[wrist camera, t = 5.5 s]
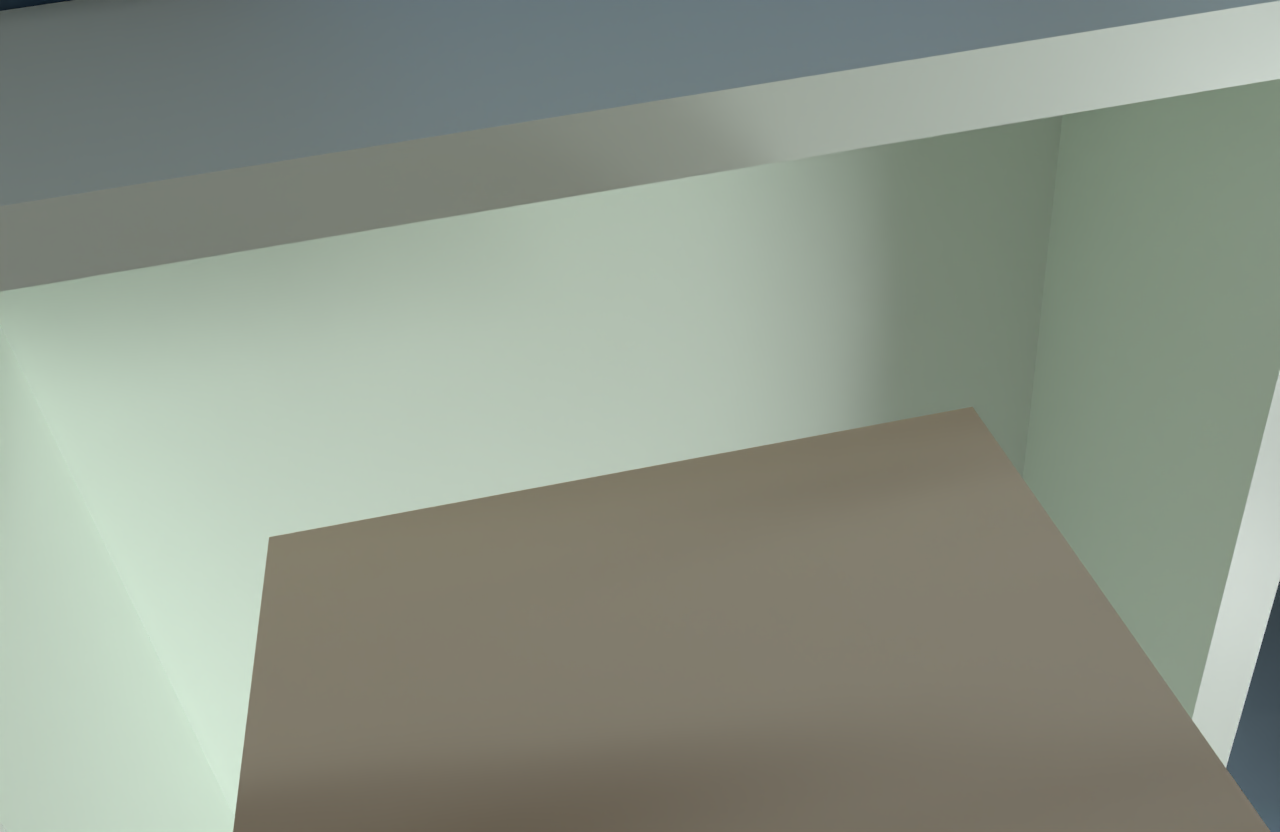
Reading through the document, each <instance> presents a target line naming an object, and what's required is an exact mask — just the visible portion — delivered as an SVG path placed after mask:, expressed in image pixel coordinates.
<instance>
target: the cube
mask: <svg viewBox="0 0 1280 832" xmlns="http://www.w3.org/2000/svg"><path fill="white" fill-rule="evenodd" d="M233 832H1270V830H1269V829H1268V827H1267V826H1266V825H1265V823H1264V822H1263V820H1262V819H1261V817H1260V816H1259V815H1258V813H1257V812H1256V810H1255V809H1254V807H1253V806H1252V805H1251V803H1250V802H1249V800H1248V799H1247V797H1246V796H1245V795H1244V793H1243V792H1242V790H1241V789H1240V787H1239V786H1238V785H1237V783H1236V782H1235V780H1234V779H1233V777H1232V776H1231V775H1230V773H1229V772H1228V770H1227V769H1226V767H1225V766H1224V765H1223V763H1222V762H1221V760H1220V759H1219V757H1218V756H1217V755H1216V753H1215V752H1214V750H1213V749H1212V748H1211V746H1210V745H1209V743H1208V742H1207V740H1206V739H1205V738H1204V736H1203V735H1202V733H1201V732H1200V730H1199V729H1198V728H1197V726H1196V725H1195V723H1194V722H1193V720H1192V719H1191V718H1190V716H1189V715H1188V713H1187V712H1186V710H1185V709H1184V708H1183V706H1182V705H1181V703H1180V702H1179V700H1178V699H1177V698H1176V696H1175V695H1174V693H1173V692H1172V690H1171V689H1170V688H1169V686H1168V685H1167V683H1166V682H1165V681H1164V679H1163V678H1162V676H1161V675H1160V673H1159V672H1158V671H1157V669H1156V668H1155V666H1154V665H1153V663H1152V662H1151V661H1150V659H1149V658H1148V656H1147V655H1146V653H1145V652H1144V651H1143V649H1142V648H1141V646H1140V645H1139V643H1138V642H1137V641H1136V639H1135V638H1134V636H1133V635H1132V633H1131V632H1130V631H1129V629H1128V628H1127V626H1126V625H1125V623H1124V622H1123V621H1122V619H1121V618H1120V616H1119V615H1118V614H1117V612H1116V611H1115V609H1114V608H1113V606H1112V605H1111V604H1110V602H1109V601H1108V599H1107V598H1106V596H1105V595H1104V594H1103V592H1102V591H1101V589H1100V588H1099V586H1098V585H1097V584H1096V582H1095V581H1094V579H1093V578H1092V576H1091V575H1090V574H1089V572H1088V571H1087V569H1086V568H1085V566H1084V565H1083V564H1082V562H1081V561H1080V559H1079V558H1078V556H1077V555H1076V554H1075V552H1074V551H1073V549H1072V548H1071V546H1070V545H1069V544H1068V542H1067V541H1066V539H1065V538H1064V537H1063V535H1062V534H1061V532H1060V531H1059V529H1058V528H1057V527H1056V525H1055V524H1054V522H1053V521H1052V519H1051V518H1050V517H1049V515H1048V514H1047V512H1046V511H1045V509H1044V508H1043V507H1042V505H1041V504H1040V502H1039V501H1038V499H1037V498H1036V497H1035V495H1034V494H1033V492H1032V491H1031V489H1030V488H1029V487H1028V485H1027V484H1026V482H1025V481H1024V479H1023V478H1022V477H1021V475H1020V474H1019V472H1018V471H1017V470H1016V468H1015V467H1014V465H1013V464H1012V462H1011V461H1010V460H1009V458H1008V457H1007V455H1006V454H1005V452H1004V451H1003V450H1002V448H1001V447H1000V445H999V444H998V442H997V441H996V440H995V438H994V437H993V435H992V434H991V432H990V431H989V430H988V428H987V427H986V425H985V424H984V422H983V421H982V420H981V418H980V417H979V415H978V414H977V412H976V411H975V410H974V408H973V407H968V408H963V409H957V410H952V411H947V412H941V413H936V414H930V415H925V416H920V417H914V418H909V419H903V420H898V421H893V422H887V423H882V424H876V425H871V426H866V427H860V428H855V429H849V430H844V431H839V432H833V433H828V434H823V435H817V436H812V437H806V438H801V439H796V440H790V441H785V442H779V443H774V444H769V445H763V446H758V447H752V448H747V449H742V450H736V451H731V452H726V453H720V454H715V455H709V456H704V457H699V458H693V459H688V460H682V461H677V462H672V463H666V464H661V465H655V466H650V467H645V468H639V469H634V470H628V471H623V472H618V473H612V474H607V475H602V476H596V477H591V478H585V479H580V480H575V481H569V482H564V483H558V484H553V485H548V486H542V487H537V488H531V489H526V490H521V491H515V492H510V493H504V494H499V495H494V496H488V497H483V498H478V499H472V500H467V501H461V502H456V503H451V504H445V505H440V506H434V507H429V508H424V509H418V510H413V511H407V512H402V513H397V514H391V515H386V516H380V517H375V518H370V519H364V520H359V521H354V522H348V523H343V524H337V525H332V526H327V527H321V528H316V529H310V530H305V531H300V532H294V533H289V534H283V535H278V536H273V537H269V542H268V550H267V558H266V567H265V575H264V583H263V591H262V599H261V607H260V615H259V624H258V632H257V640H256V648H255V656H254V664H253V673H252V681H251V689H250V697H249V705H248V713H247V722H246V730H245V738H244V746H243V754H242V762H241V771H240V779H239V787H238V795H237V803H236V811H235V819H234V828H233Z"/></svg>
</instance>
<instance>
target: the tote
mask: <svg viewBox="0 0 1280 832" xmlns="http://www.w3.org/2000/svg"><path fill="white" fill-rule="evenodd" d="M968 407H973V408H974V410H975V411H976V412H977V414H978V415H979V417H980V418H981V420H982V421H983V422H984V424H985V425H986V427H987V428H988V430H989V431H990V432H991V434H992V435H993V437H994V438H995V440H996V441H997V442H998V444H999V445H1000V447H1001V448H1002V450H1003V451H1004V452H1005V454H1006V455H1007V457H1008V458H1009V460H1010V461H1011V462H1012V464H1013V465H1014V467H1015V468H1016V470H1017V471H1018V472H1019V474H1020V475H1021V477H1022V478H1023V479H1024V481H1025V482H1026V484H1027V485H1028V487H1029V488H1030V489H1031V491H1032V492H1033V494H1034V495H1035V497H1036V498H1037V499H1038V501H1039V502H1040V504H1041V505H1042V507H1043V508H1044V509H1045V511H1046V512H1047V514H1048V515H1049V517H1050V518H1051V519H1052V521H1053V522H1054V524H1055V525H1056V527H1057V528H1058V529H1059V531H1060V532H1061V534H1062V535H1063V537H1064V538H1065V539H1066V541H1067V542H1068V544H1069V545H1070V546H1071V548H1072V549H1073V551H1074V552H1075V554H1076V555H1077V556H1078V558H1079V559H1080V561H1081V562H1082V564H1083V565H1084V566H1085V568H1086V569H1087V571H1088V572H1089V574H1090V575H1091V576H1092V578H1093V579H1094V581H1095V582H1096V584H1097V585H1098V586H1099V588H1100V589H1101V591H1102V592H1103V594H1104V595H1105V596H1106V598H1107V599H1108V601H1109V602H1110V604H1111V605H1112V606H1113V608H1114V609H1115V611H1116V612H1117V614H1118V615H1119V616H1120V618H1121V619H1122V621H1123V622H1124V623H1125V625H1126V626H1127V628H1128V629H1129V631H1130V632H1131V633H1132V635H1133V636H1134V638H1135V639H1136V641H1137V642H1138V643H1139V645H1140V646H1141V648H1142V649H1143V651H1144V652H1145V653H1146V655H1147V656H1148V658H1149V659H1150V661H1151V662H1152V663H1153V665H1154V666H1155V668H1156V669H1157V671H1158V672H1159V673H1160V675H1161V676H1162V678H1163V679H1164V681H1165V682H1166V683H1167V685H1168V686H1169V688H1170V689H1171V690H1172V692H1173V693H1174V695H1175V696H1176V698H1177V699H1178V700H1179V702H1180V703H1181V705H1182V706H1183V708H1184V709H1185V710H1186V712H1187V713H1188V715H1189V716H1190V718H1191V719H1192V720H1193V722H1194V723H1195V725H1196V726H1197V728H1198V729H1199V730H1200V732H1201V733H1202V735H1203V736H1204V738H1205V739H1206V740H1207V742H1208V743H1209V745H1210V746H1211V748H1212V749H1213V750H1214V752H1215V753H1216V755H1217V756H1218V757H1219V759H1220V760H1221V762H1222V763H1223V765H1224V766H1225V767H1226V766H1227V762H1228V759H1229V755H1230V752H1231V748H1232V745H1233V741H1234V738H1235V734H1236V731H1237V727H1238V724H1239V720H1240V717H1241V713H1242V710H1243V706H1244V703H1245V699H1246V696H1247V692H1248V689H1249V685H1250V682H1251V678H1252V675H1253V671H1254V668H1255V664H1256V661H1257V657H1258V654H1259V650H1260V647H1261V643H1262V640H1263V636H1264V633H1265V629H1266V626H1267V622H1268V619H1269V615H1270V612H1271V608H1272V605H1273V601H1274V598H1275V594H1276V591H1277V587H1278V584H1279V580H1280V0H71V1H64V2H57V3H51V4H44V5H37V6H30V7H24V8H17V9H10V10H3V11H0V832H233V828H234V819H235V811H236V803H237V795H238V787H239V779H240V771H241V762H242V754H243V746H244V738H245V730H246V722H247V713H248V705H249V697H250V689H251V681H252V673H253V664H254V656H255V648H256V640H257V632H258V624H259V615H260V607H261V599H262V591H263V583H264V575H265V567H266V558H267V550H268V542H269V537H273V536H278V535H283V534H289V533H294V532H300V531H305V530H310V529H316V528H321V527H327V526H332V525H337V524H343V523H348V522H354V521H359V520H364V519H370V518H375V517H380V516H386V515H391V514H397V513H402V512H407V511H413V510H418V509H424V508H429V507H434V506H440V505H445V504H451V503H456V502H461V501H467V500H472V499H478V498H483V497H488V496H494V495H499V494H504V493H510V492H515V491H521V490H526V489H531V488H537V487H542V486H548V485H553V484H558V483H564V482H569V481H575V480H580V479H585V478H591V477H596V476H602V475H607V474H612V473H618V472H623V471H628V470H634V469H639V468H645V467H650V466H655V465H661V464H666V463H672V462H677V461H682V460H688V459H693V458H699V457H704V456H709V455H715V454H720V453H726V452H731V451H736V450H742V449H747V448H752V447H758V446H763V445H769V444H774V443H779V442H785V441H790V440H796V439H801V438H806V437H812V436H817V435H823V434H828V433H833V432H839V431H844V430H849V429H855V428H860V427H866V426H871V425H876V424H882V423H887V422H893V421H898V420H903V419H909V418H914V417H920V416H925V415H930V414H936V413H941V412H947V411H952V410H957V409H963V408H968Z"/></svg>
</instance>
